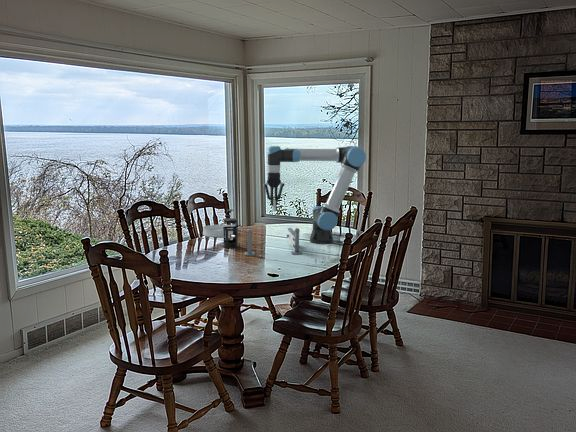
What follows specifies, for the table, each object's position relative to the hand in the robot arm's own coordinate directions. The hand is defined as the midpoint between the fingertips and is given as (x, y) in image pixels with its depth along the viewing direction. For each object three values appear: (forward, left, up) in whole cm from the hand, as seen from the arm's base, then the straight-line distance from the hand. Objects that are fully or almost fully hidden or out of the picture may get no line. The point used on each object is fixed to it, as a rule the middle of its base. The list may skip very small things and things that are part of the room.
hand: (273, 210), depth 324 cm
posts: (+2, +18, -22) cm, 29 cm away
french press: (+26, -4, -23) cm, 35 cm away
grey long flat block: (-11, +5, -21) cm, 24 cm away
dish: (+34, -44, -23) cm, 60 cm away
